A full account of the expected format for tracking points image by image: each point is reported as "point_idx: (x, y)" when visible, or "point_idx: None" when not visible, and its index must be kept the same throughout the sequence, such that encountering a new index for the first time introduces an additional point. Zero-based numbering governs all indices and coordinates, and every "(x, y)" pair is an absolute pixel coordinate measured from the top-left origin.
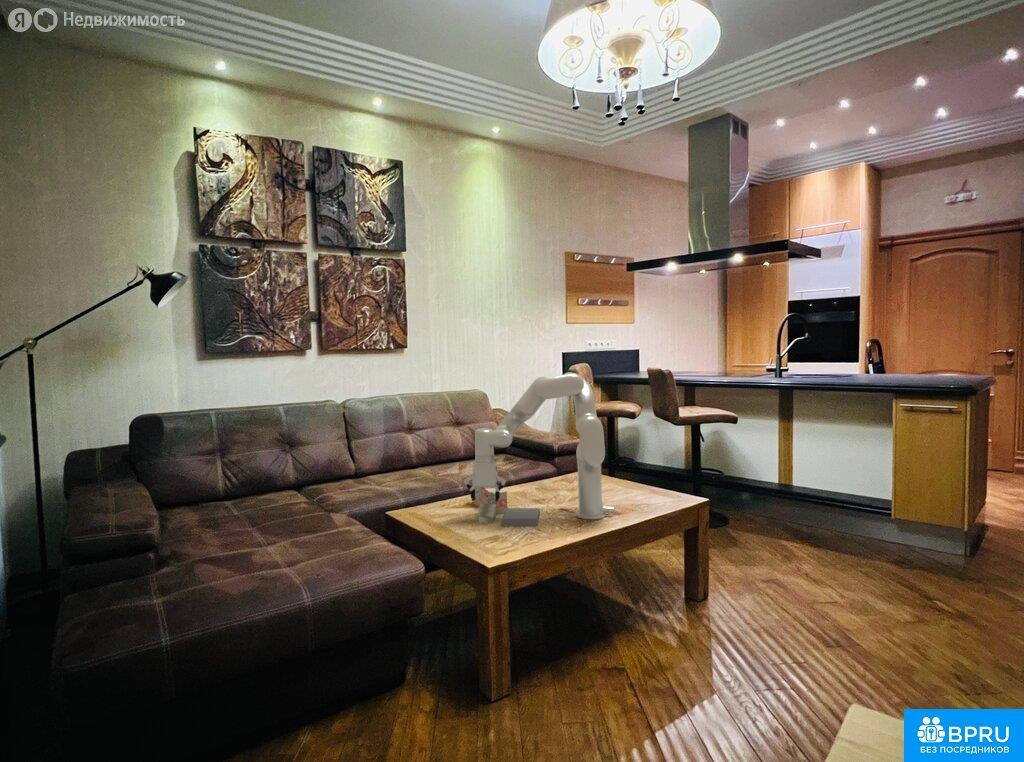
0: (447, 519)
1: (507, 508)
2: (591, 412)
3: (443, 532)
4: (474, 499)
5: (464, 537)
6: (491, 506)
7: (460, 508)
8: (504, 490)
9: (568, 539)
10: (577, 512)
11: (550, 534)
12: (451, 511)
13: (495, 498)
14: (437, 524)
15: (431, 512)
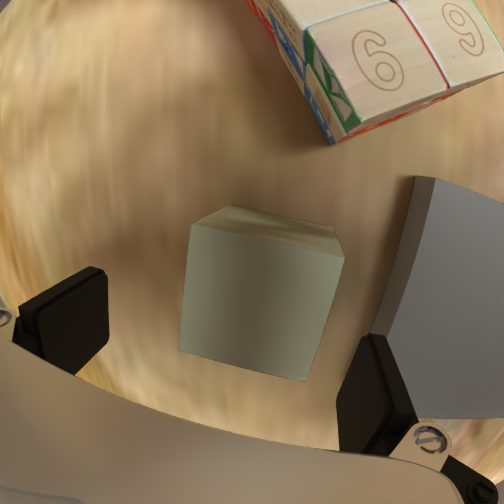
0: (51, 201)
1: (442, 192)
2: None
3: (83, 376)
4: (106, 310)
5: None
6: (297, 329)
7: (106, 5)
8: (481, 15)
9: (492, 479)
10: None
11: (480, 459)
12: (62, 60)
13: (338, 421)
14: (34, 271)
15: (2, 89)
